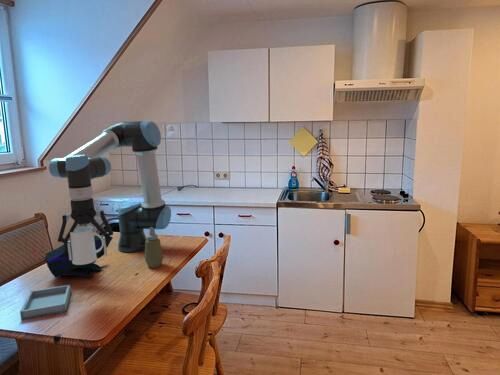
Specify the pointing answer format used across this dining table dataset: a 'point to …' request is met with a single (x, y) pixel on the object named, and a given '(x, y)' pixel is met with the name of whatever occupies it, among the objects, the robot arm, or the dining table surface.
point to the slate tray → (46, 302)
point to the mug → (83, 245)
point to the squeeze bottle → (153, 250)
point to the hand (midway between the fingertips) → (88, 256)
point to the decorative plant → (62, 264)
